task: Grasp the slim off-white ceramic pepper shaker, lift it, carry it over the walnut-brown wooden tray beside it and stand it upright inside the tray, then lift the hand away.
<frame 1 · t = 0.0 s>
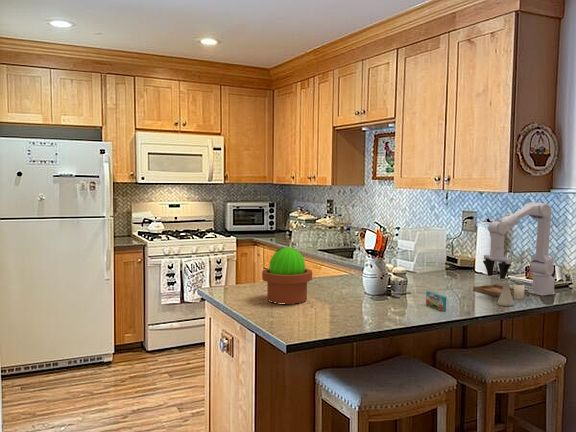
hand: (496, 277, 236), 10 cm above the countertop, tool pointing down, fingers open, 7 cm apart
flask: (505, 305, 226), on the countertop
pepper shaker: (518, 298, 237), on the countertop
teal printed box: (435, 308, 220), on the countertop
tray: (495, 292, 250), on the countertop
potted cactus: (287, 301, 233), on the countertop
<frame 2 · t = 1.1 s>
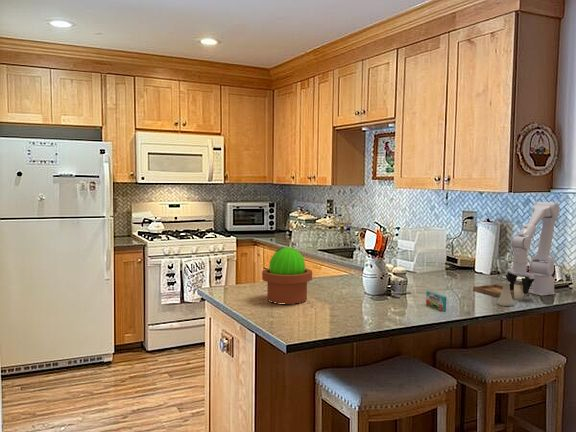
hand: (518, 291, 236), 3 cm above the countertop, tool pointing down, fingers open, 7 cm apart
nothing on the countertop moved.
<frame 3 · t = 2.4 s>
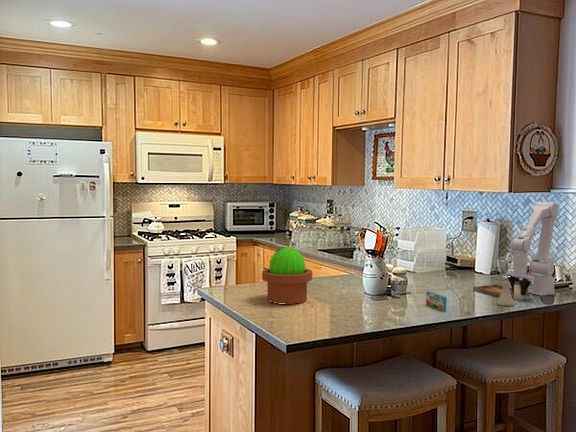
hand: (518, 294, 237), 2 cm above the countertop, tool pointing down, fingers closed on pepper shaker, 4 cm apart
pepper shaker: (518, 298, 237), on the countertop, touching gripper
everything else where it was.
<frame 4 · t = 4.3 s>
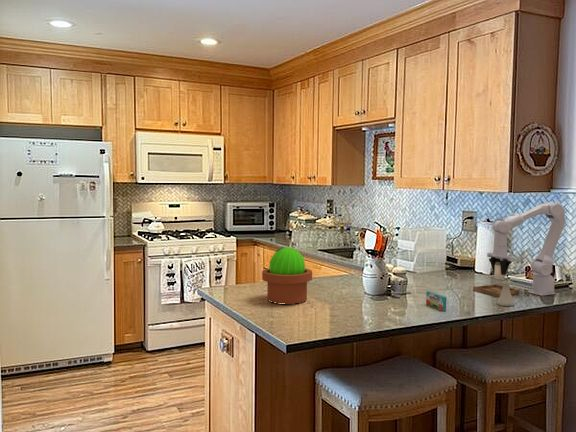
hand: (499, 273, 247), 9 cm above the countertop, tool pointing down, fingers closed on pepper shaker, 4 cm apart
pepper shaker: (499, 278, 247), point 7 cm above the countertop, touching gripper
everything else where it was.
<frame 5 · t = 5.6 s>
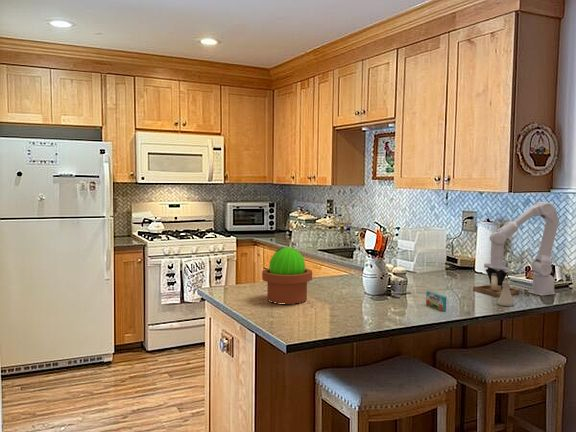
hand: (496, 284, 249), 4 cm above the countertop, tool pointing down, fingers closed on pepper shaker, 4 cm apart
pepper shaker: (495, 289, 249), point 1 cm above the countertop, touching gripper
everything else where it was.
when the fingers open (4 cm above the countertop, at t = 6.4 s): pepper shaker stays where it is, resting on tray.
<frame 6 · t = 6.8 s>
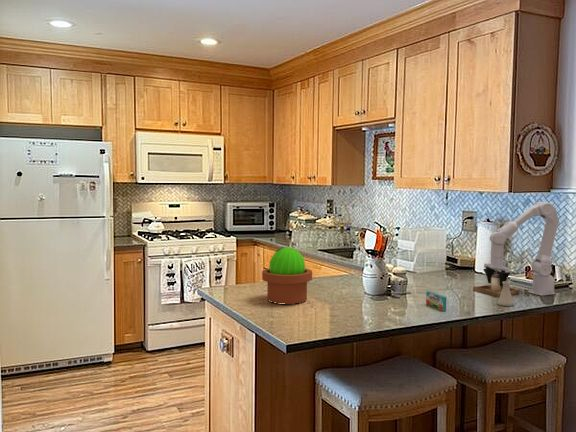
hand: (496, 284, 249), 4 cm above the countertop, tool pointing down, fingers open, 7 cm apart
pepper shaker: (495, 291, 250), point 1 cm above the countertop, touching tray
everything else where it was.
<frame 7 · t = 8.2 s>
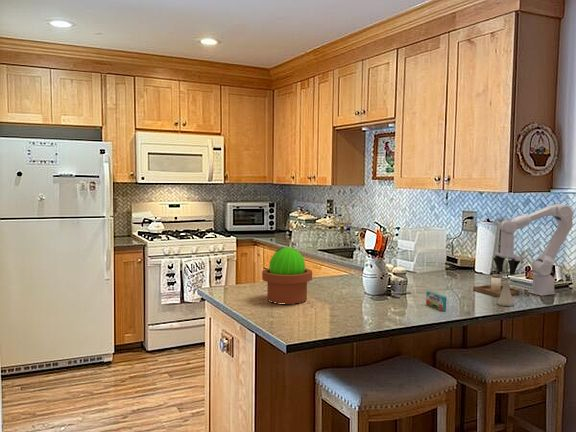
hand: (506, 273, 249), 9 cm above the countertop, tool pointing down, fingers open, 7 cm apart
nothing on the countertop moved.
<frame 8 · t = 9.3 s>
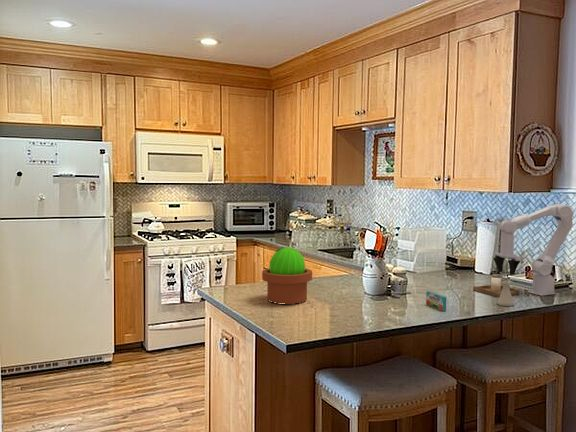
hand: (506, 273, 249), 9 cm above the countertop, tool pointing down, fingers open, 7 cm apart
nothing on the countertop moved.
at the end: pepper shaker inside the target area on the tray (0.1 cm from its centre), point 0.6 cm above the tray's base; pepper shaker tilted 1°; the gripper is holding nothing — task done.
